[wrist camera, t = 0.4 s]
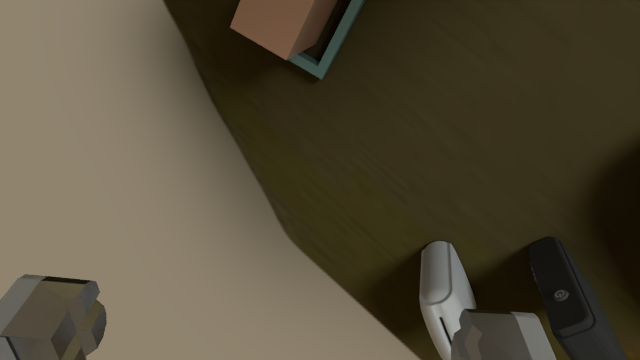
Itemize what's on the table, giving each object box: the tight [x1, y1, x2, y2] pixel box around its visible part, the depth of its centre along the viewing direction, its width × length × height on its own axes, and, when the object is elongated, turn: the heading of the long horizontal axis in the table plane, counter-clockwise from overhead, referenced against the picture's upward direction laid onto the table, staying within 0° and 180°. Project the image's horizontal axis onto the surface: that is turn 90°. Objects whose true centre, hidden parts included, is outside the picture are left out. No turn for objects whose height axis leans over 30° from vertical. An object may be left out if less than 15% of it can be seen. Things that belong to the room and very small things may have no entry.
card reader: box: [528, 237, 627, 360], centre depth 47 cm, size 9×4×15 cm, turn 37°
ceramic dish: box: [288, 0, 365, 79], centre depth 47 cm, size 11×11×3 cm
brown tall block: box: [230, 0, 338, 60], centre depth 44 cm, size 6×6×11 cm
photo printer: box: [419, 241, 476, 360], centre depth 52 cm, size 10×4×12 cm, turn 25°
